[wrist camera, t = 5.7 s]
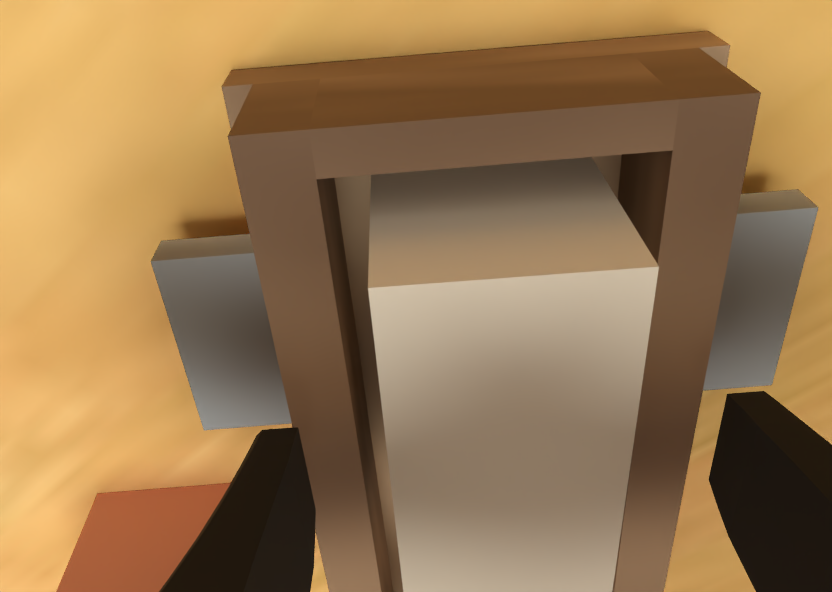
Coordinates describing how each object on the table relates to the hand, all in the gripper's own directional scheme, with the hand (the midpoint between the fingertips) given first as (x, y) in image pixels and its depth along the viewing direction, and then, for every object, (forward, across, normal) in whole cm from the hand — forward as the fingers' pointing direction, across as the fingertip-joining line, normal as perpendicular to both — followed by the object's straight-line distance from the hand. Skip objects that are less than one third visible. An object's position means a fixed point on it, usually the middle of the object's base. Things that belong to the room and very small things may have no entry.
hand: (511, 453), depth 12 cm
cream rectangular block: (+4, 0, 0) cm, 4 cm away
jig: (+5, 0, +3) cm, 6 cm away
